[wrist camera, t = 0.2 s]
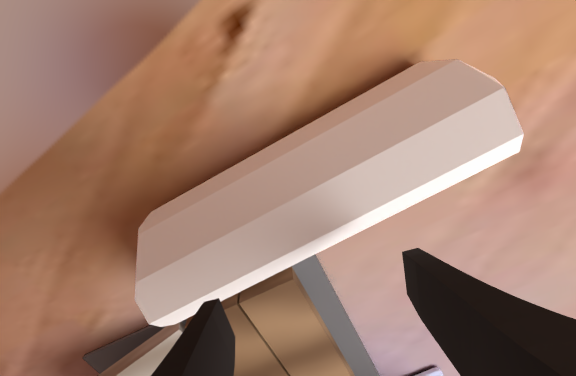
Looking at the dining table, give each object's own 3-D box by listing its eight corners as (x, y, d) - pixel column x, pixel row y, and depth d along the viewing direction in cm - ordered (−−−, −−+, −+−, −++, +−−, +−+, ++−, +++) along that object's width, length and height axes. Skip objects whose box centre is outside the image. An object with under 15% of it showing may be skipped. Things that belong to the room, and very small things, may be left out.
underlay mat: (381, 379, 27) (382, 382, 27) (192, 454, 29) (192, 458, 29) (313, 251, 21) (314, 253, 21) (84, 354, 23) (82, 358, 23)
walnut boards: (362, 389, 27) (368, 406, 26) (278, 422, 28) (279, 440, 26) (291, 266, 21) (293, 279, 20) (189, 312, 22) (184, 327, 21)
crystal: (192, 353, 19) (531, 188, 17) (100, 340, 14) (581, 93, 11) (185, 258, 24) (448, 120, 21) (114, 222, 19) (455, 30, 16)
